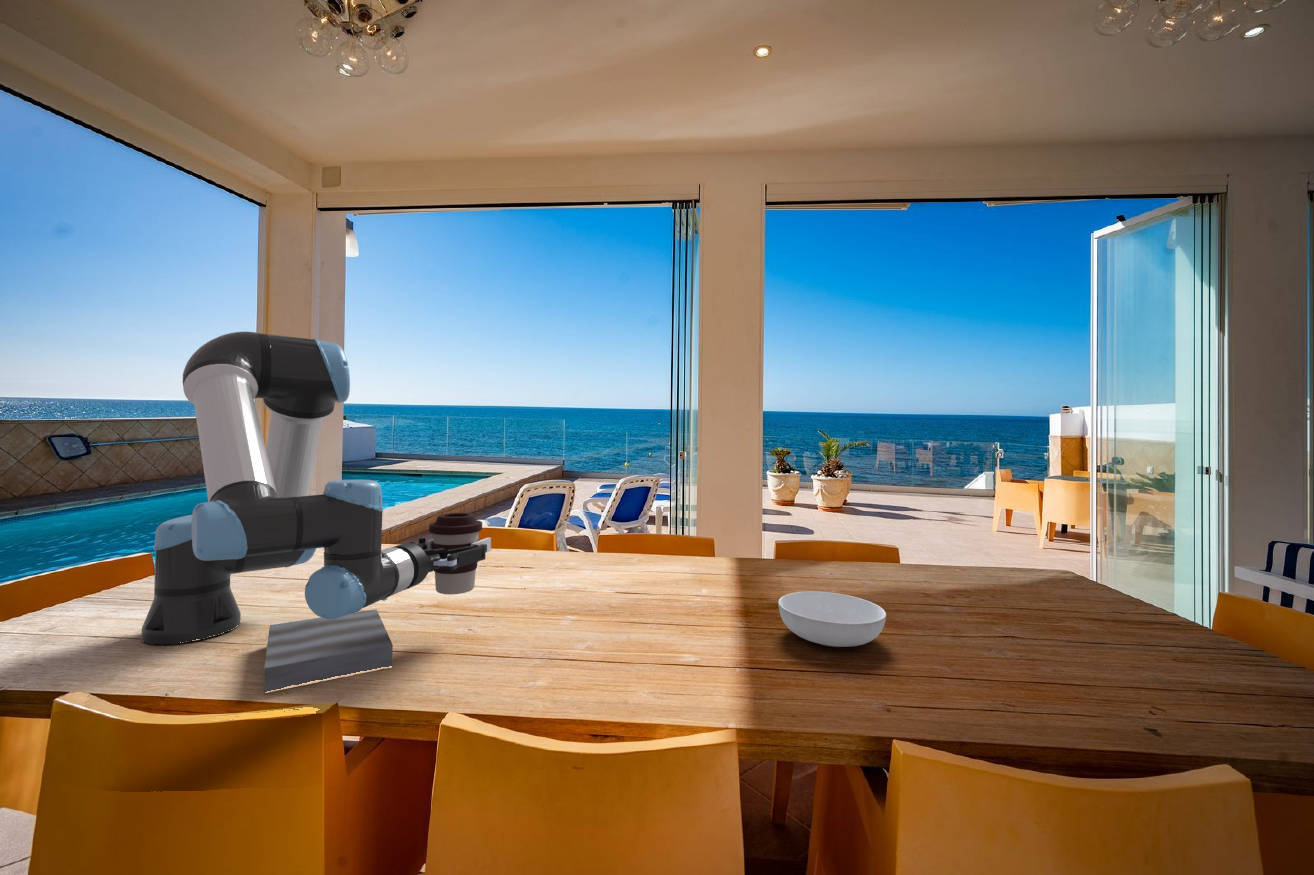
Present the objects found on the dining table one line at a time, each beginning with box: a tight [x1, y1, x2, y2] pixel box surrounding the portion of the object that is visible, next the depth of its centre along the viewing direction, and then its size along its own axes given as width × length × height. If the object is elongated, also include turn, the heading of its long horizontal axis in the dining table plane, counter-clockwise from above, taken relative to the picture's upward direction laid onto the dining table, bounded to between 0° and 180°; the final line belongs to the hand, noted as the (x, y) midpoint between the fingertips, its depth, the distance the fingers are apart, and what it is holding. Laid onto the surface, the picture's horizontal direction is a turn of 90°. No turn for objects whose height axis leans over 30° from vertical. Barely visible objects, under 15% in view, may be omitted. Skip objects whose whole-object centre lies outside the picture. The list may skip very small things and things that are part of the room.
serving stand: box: [263, 608, 394, 693], centre depth 98 cm, size 22×18×4 cm
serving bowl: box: [777, 590, 887, 648], centre depth 111 cm, size 21×21×7 cm
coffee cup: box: [428, 512, 483, 596], centre depth 108 cm, size 10×10×15 cm
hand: (467, 542), depth 113 cm, fingers closed on coffee cup, 9 cm apart
